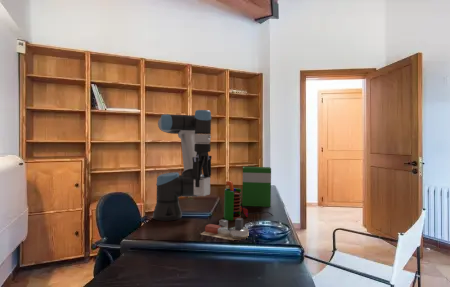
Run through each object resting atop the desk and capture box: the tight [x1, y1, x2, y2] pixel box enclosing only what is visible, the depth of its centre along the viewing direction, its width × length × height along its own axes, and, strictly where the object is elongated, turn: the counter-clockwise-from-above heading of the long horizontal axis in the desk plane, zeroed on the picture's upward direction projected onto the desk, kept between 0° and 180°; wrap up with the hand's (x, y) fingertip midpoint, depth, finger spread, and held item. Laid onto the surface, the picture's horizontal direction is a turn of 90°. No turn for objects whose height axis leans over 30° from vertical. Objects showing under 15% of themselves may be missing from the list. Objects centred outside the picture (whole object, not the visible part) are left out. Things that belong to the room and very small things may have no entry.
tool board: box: [200, 231, 238, 241], centre depth 128 cm, size 24×13×1 cm, turn 63°
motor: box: [223, 180, 242, 221], centre depth 154 cm, size 10×9×20 cm
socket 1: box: [194, 177, 211, 197], centre depth 138 cm, size 6×6×8 cm
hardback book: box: [241, 166, 272, 208], centre depth 189 cm, size 18×7×24 cm, turn 85°
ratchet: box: [204, 217, 250, 240], centre depth 128 cm, size 20×8×7 cm, turn 63°
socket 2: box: [218, 219, 229, 228], centre depth 134 cm, size 4×4×4 cm
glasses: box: [240, 205, 274, 218], centre depth 167 cm, size 14×16×5 cm
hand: (201, 192), depth 138 cm, fingers closed on socket 1, 6 cm apart
